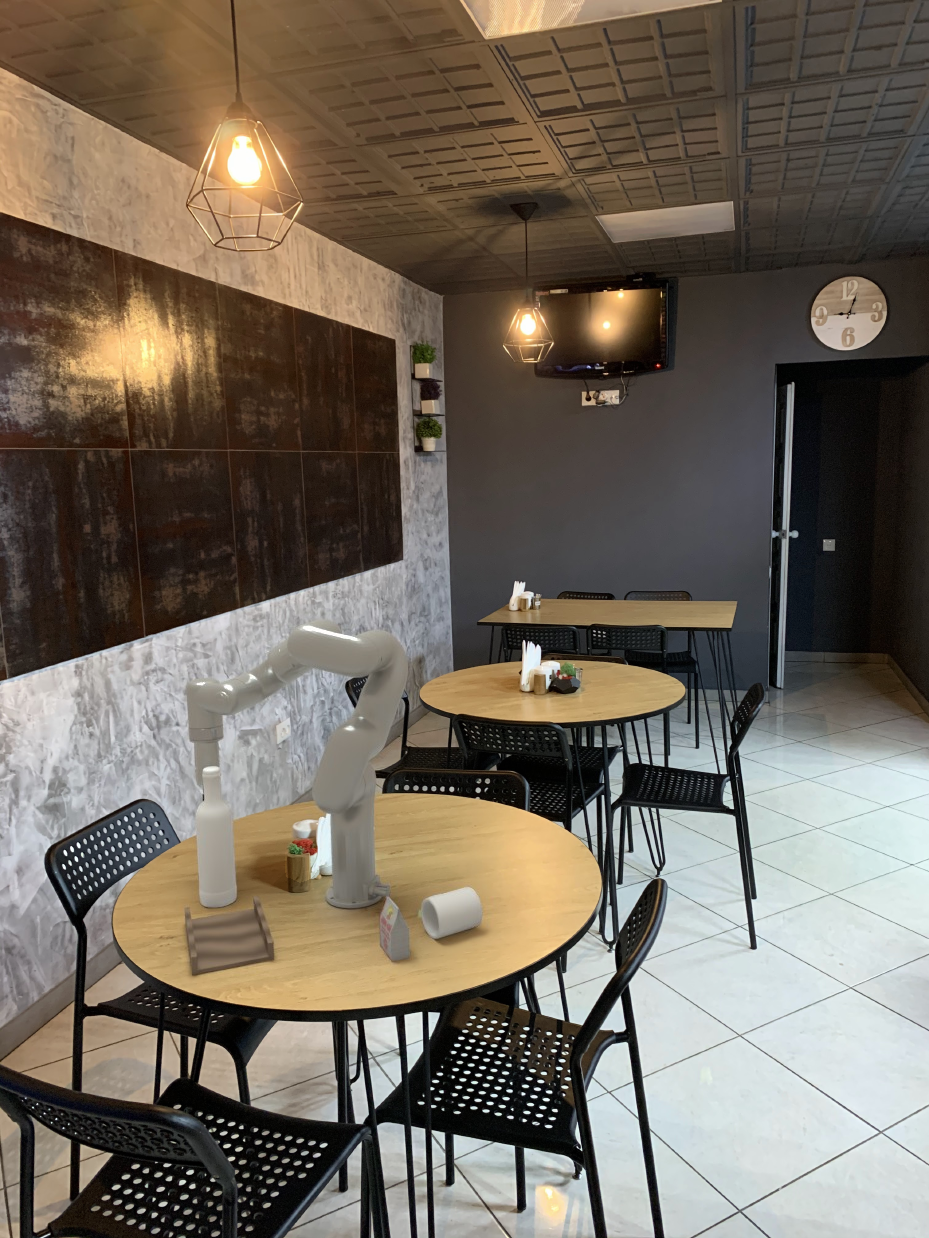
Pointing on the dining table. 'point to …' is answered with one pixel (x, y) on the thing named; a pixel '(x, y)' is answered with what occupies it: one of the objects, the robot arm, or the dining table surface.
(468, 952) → the dining table surface
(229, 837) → the bottle
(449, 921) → the mug
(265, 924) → the u rest
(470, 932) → the dining table surface
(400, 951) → the grey gabled box
